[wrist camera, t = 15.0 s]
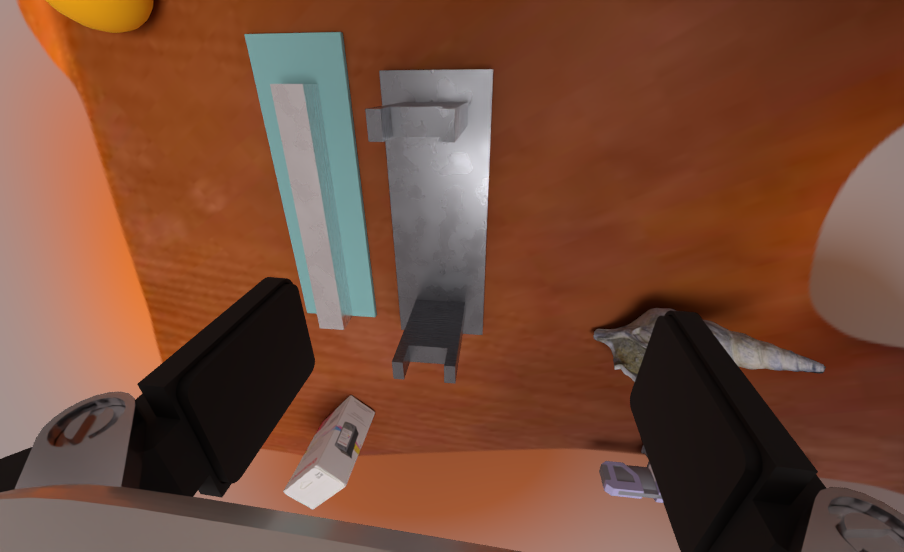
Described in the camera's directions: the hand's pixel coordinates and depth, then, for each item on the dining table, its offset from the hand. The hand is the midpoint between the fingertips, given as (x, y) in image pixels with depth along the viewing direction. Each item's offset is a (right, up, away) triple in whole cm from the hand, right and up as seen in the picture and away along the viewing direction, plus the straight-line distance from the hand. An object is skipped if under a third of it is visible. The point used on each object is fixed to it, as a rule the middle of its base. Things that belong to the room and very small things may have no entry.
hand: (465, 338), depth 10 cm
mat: (-15, +10, +30) cm, 35 cm away
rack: (-2, +8, +30) cm, 31 cm away
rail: (-14, +8, +31) cm, 35 cm away
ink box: (-16, -20, +46) cm, 53 cm away
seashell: (+25, -5, +33) cm, 42 cm away
